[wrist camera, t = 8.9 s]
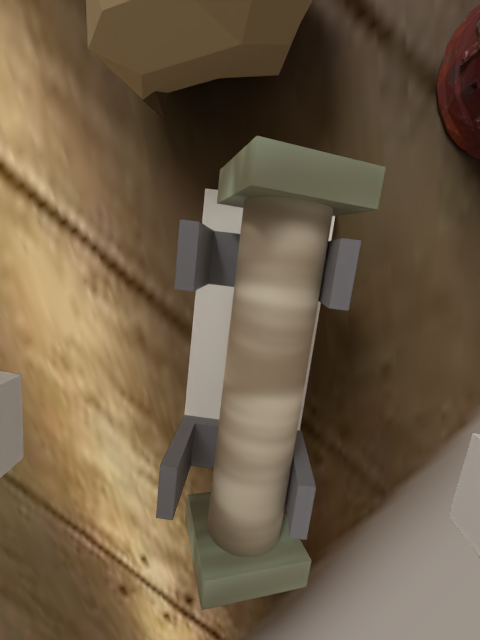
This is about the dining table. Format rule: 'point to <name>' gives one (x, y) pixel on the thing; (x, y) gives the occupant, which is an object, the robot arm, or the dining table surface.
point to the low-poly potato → (190, 41)
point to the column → (268, 362)
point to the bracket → (211, 349)
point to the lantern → (462, 85)
